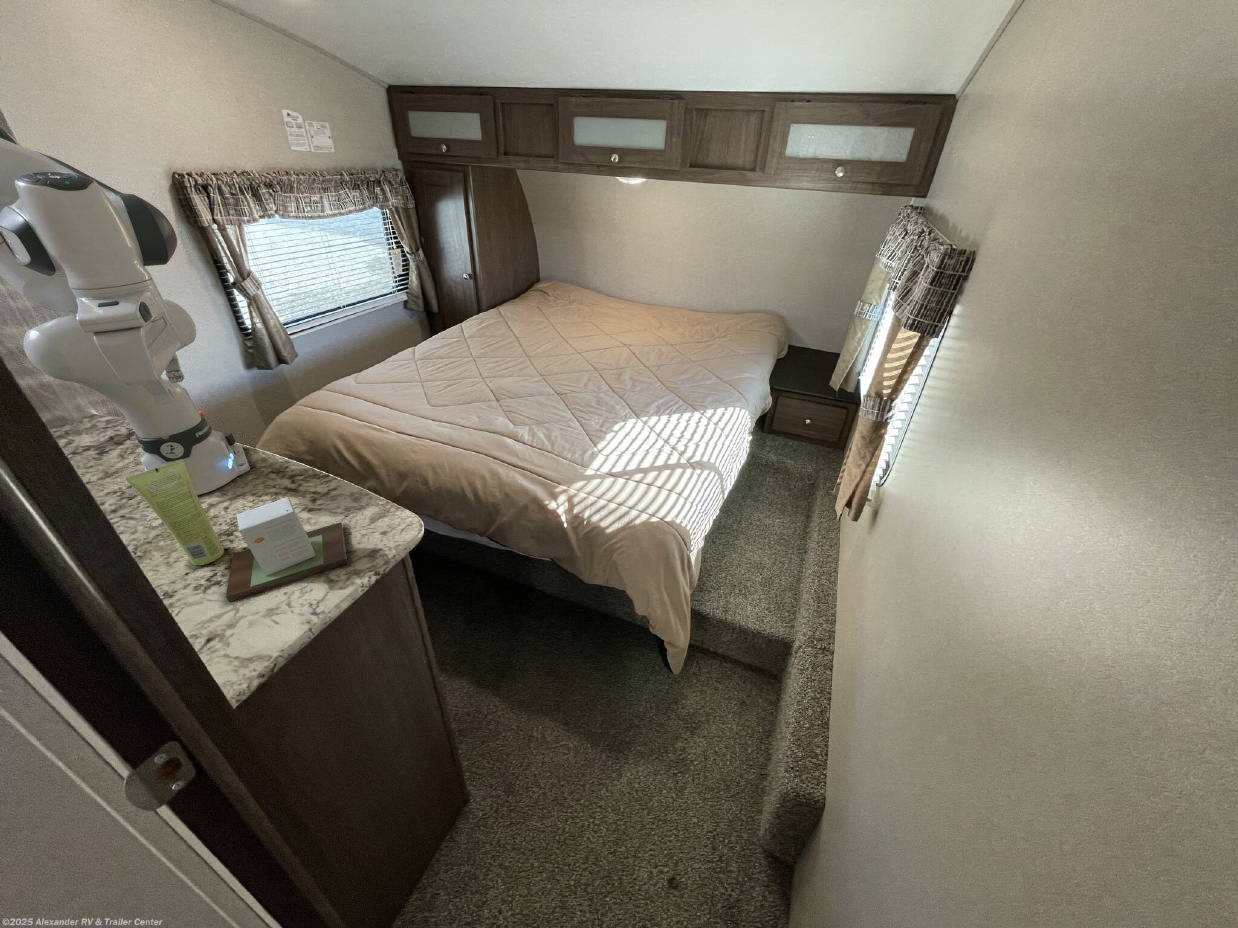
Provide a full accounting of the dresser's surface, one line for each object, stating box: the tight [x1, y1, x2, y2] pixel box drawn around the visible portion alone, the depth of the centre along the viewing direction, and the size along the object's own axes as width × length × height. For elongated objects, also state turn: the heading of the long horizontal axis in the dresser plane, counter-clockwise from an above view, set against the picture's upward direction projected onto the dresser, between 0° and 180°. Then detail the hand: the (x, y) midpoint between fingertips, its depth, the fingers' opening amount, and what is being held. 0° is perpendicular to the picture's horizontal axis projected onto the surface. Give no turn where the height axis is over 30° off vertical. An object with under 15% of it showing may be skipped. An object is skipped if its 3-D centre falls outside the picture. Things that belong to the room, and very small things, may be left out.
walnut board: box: [225, 522, 348, 603], centre depth 89 cm, size 12×18×1 cm, turn 119°
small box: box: [236, 496, 316, 576], centre depth 85 cm, size 8×6×10 cm
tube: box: [125, 459, 225, 566], centre depth 85 cm, size 6×5×20 cm
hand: (172, 391), depth 78 cm, fingers open, 8 cm apart
